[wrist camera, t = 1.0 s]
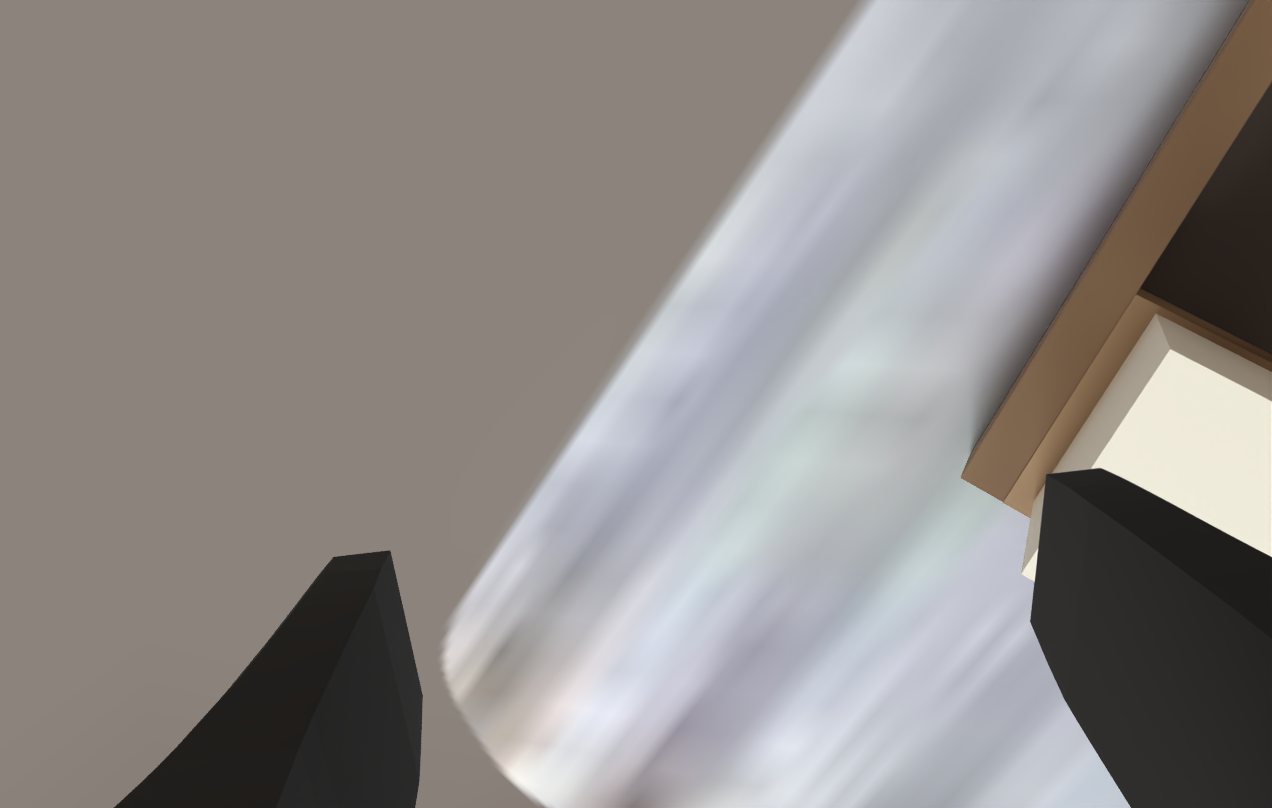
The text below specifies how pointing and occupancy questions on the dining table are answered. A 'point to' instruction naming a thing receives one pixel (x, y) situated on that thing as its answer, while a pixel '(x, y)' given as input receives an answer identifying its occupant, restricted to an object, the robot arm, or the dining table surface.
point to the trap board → (1157, 268)
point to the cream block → (1182, 434)
